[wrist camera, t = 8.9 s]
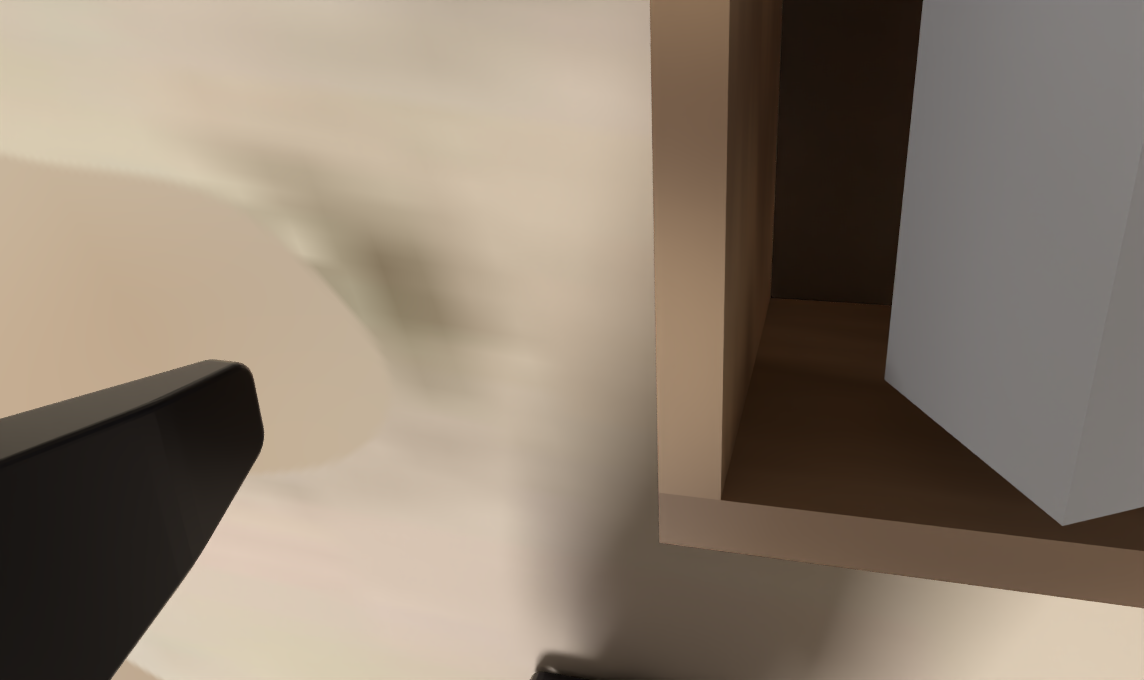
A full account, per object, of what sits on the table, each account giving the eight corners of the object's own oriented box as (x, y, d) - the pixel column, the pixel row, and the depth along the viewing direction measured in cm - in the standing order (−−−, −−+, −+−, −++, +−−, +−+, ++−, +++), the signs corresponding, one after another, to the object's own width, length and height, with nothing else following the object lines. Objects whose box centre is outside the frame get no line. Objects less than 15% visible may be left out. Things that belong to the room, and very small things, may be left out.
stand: (1207, 369, 20) (1378, 639, 13) (726, 334, 23) (659, 542, 16) (1439, -490, 14) (1989, -826, 7) (740, -398, 16) (640, -573, 10)
